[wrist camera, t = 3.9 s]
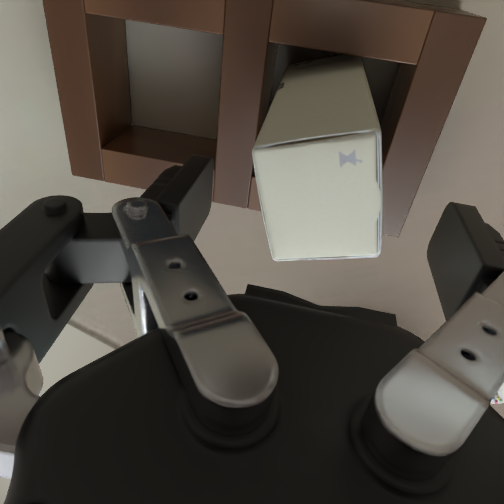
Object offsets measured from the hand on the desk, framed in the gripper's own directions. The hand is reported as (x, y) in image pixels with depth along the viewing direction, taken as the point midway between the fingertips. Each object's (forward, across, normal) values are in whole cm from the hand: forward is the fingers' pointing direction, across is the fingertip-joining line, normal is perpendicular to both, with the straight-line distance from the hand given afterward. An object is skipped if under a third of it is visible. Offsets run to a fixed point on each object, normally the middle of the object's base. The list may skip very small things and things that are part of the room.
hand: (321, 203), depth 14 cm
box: (+13, 0, 0) cm, 13 cm away
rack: (+13, +5, 0) cm, 14 cm away
